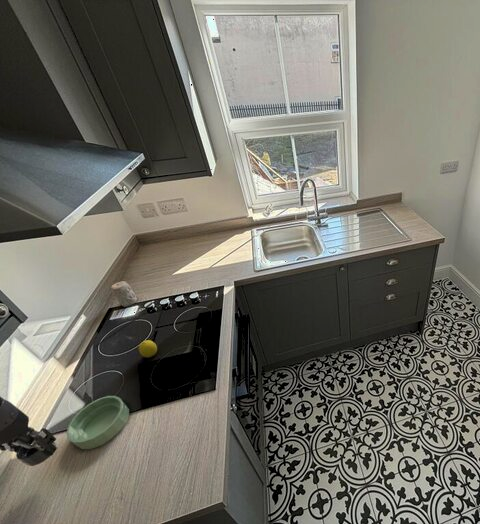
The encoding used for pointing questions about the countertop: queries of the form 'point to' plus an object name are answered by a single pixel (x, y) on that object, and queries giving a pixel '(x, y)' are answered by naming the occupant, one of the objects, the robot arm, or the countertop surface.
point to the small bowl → (31, 455)
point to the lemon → (147, 348)
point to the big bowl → (98, 422)
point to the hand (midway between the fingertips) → (40, 452)
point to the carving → (124, 293)
